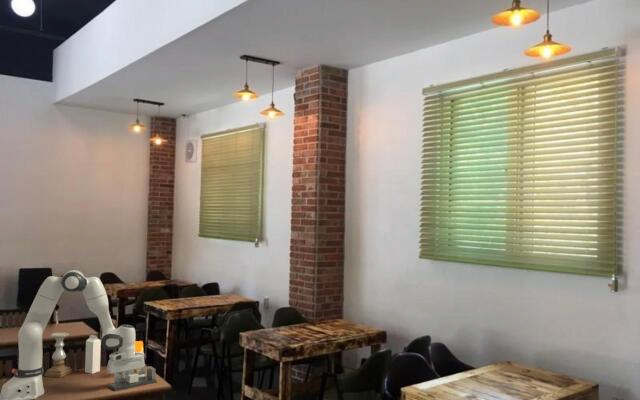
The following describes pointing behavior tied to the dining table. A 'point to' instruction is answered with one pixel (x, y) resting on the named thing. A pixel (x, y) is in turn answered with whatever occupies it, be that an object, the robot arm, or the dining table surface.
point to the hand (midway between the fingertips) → (125, 378)
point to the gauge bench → (123, 384)
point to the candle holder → (59, 357)
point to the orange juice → (138, 346)
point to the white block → (134, 377)
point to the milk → (92, 354)
